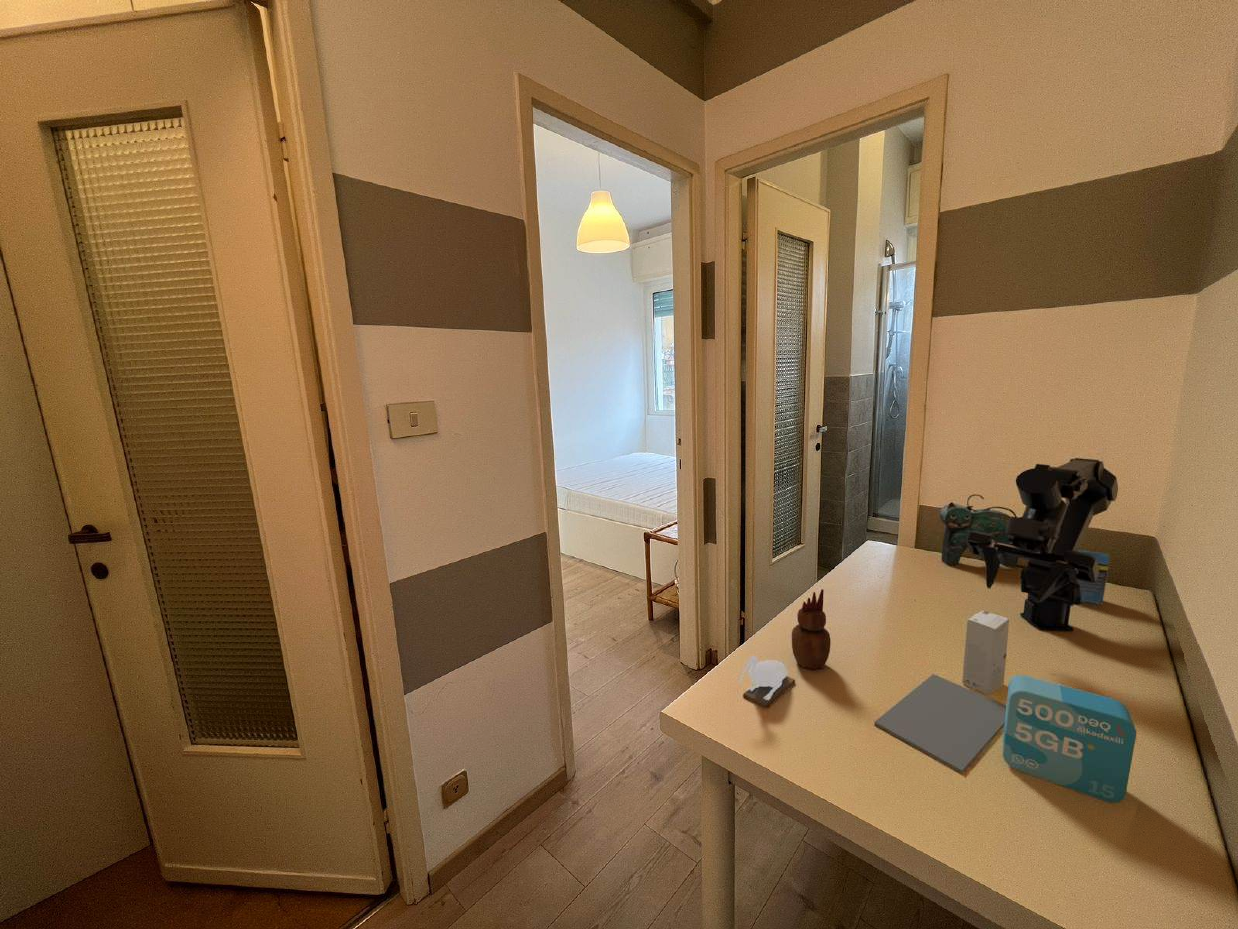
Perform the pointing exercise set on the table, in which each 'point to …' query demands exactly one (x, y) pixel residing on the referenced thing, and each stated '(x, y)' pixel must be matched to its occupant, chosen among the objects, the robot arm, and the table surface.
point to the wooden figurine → (811, 634)
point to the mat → (945, 721)
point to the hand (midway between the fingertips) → (1012, 594)
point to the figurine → (766, 681)
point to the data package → (1069, 737)
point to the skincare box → (985, 652)
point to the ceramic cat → (965, 522)
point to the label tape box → (1096, 590)
